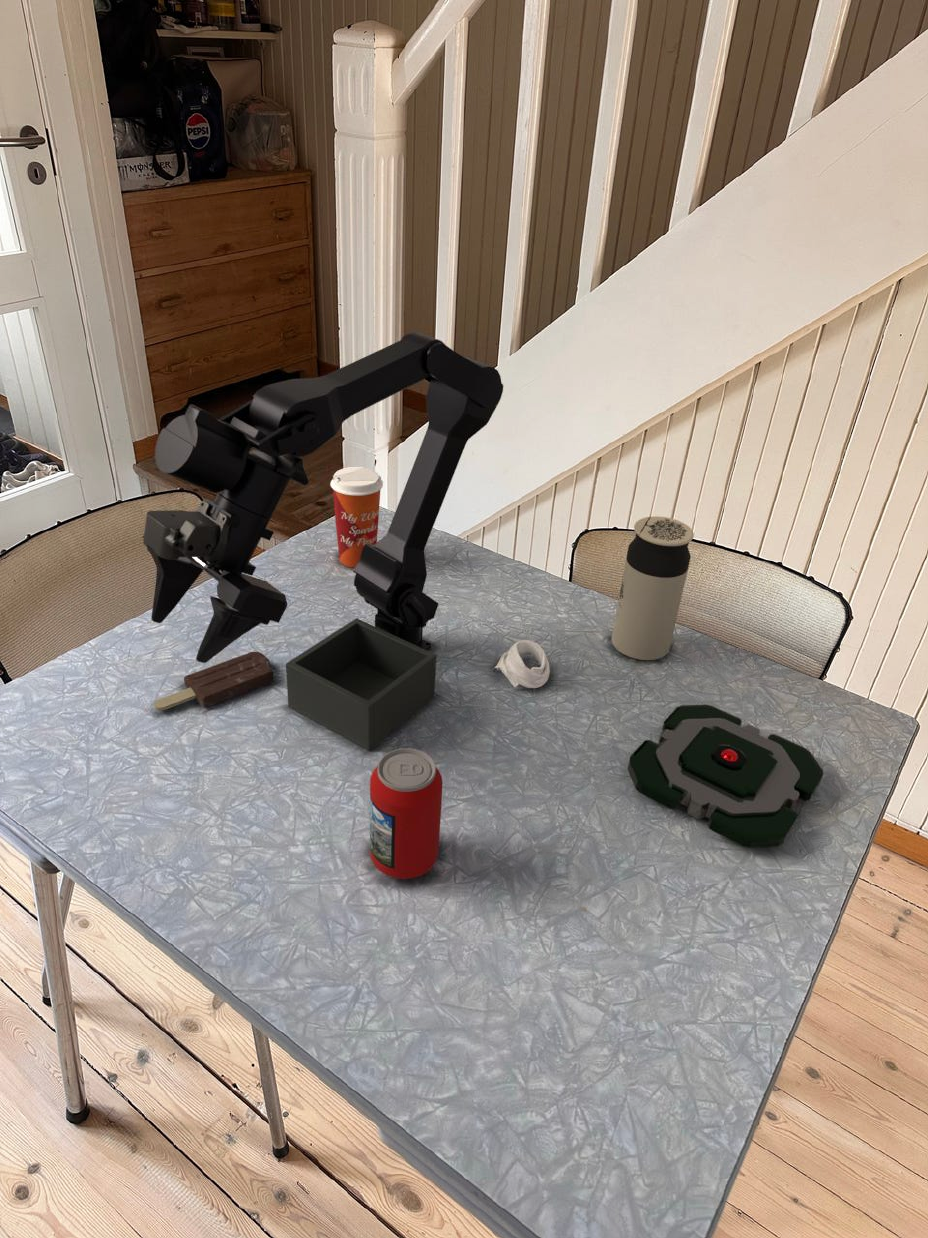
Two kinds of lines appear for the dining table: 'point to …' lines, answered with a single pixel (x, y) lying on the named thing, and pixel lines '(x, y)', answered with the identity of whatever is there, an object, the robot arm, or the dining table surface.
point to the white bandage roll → (518, 671)
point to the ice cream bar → (222, 681)
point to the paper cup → (356, 511)
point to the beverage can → (405, 813)
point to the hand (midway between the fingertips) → (177, 641)
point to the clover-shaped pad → (726, 774)
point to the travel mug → (652, 587)
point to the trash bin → (361, 682)
